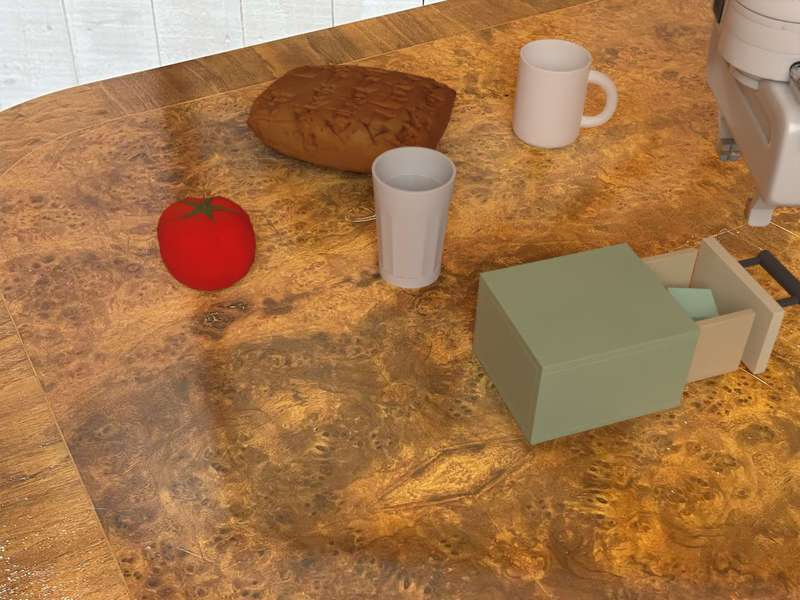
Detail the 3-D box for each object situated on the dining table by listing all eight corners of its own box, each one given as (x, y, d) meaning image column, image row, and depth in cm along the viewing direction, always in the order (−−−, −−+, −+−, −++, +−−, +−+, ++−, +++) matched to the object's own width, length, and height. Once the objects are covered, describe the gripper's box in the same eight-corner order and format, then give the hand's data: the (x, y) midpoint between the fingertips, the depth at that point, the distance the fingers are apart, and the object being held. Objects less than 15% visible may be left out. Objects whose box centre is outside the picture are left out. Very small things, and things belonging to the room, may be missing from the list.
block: (701, 321, 100) (710, 288, 98) (710, 350, 97) (720, 317, 95) (659, 320, 100) (667, 287, 98) (666, 349, 97) (675, 315, 94)
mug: (613, 125, 131) (627, 48, 124) (606, 160, 125) (621, 81, 118) (517, 110, 133) (526, 34, 126) (505, 144, 127) (514, 66, 120)
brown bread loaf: (465, 137, 128) (470, 77, 123) (410, 212, 116) (413, 149, 111) (301, 96, 134) (299, 37, 129) (232, 163, 122) (227, 101, 117)
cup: (354, 264, 108) (354, 164, 101) (413, 235, 112) (418, 137, 105) (405, 304, 104) (409, 203, 96) (465, 273, 108) (473, 173, 100)
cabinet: (610, 317, 103) (626, 242, 97) (679, 406, 94) (701, 329, 88) (472, 349, 99) (479, 273, 93) (530, 445, 90) (542, 367, 84)
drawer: (742, 284, 106) (760, 225, 102) (812, 359, 98) (836, 298, 93) (574, 323, 101) (584, 263, 96) (634, 406, 93) (649, 344, 88)
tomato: (227, 317, 102) (220, 247, 96) (138, 285, 105) (127, 215, 99) (277, 263, 108) (273, 195, 103) (192, 235, 111) (184, 167, 106)
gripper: (872, 105, 72) (816, 265, 81) (785, -21, 88) (746, 125, 97) (779, 104, 72) (734, 265, 81) (709, -22, 88) (677, 124, 96)
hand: (740, 188), depth 89 cm, fingers open, 8 cm apart
